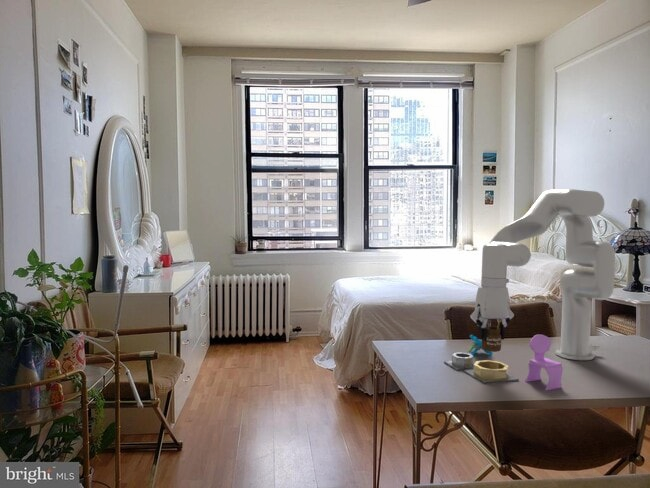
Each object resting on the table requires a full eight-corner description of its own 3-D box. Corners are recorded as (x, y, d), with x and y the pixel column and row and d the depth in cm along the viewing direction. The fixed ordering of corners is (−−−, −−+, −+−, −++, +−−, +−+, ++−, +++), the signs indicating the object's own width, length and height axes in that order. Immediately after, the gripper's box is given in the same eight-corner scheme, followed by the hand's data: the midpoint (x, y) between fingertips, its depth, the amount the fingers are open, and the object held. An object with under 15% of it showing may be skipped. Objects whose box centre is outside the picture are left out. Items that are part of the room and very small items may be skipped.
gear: (497, 354, 184) (477, 334, 184) (486, 366, 183) (466, 346, 184) (486, 350, 195) (468, 331, 195) (476, 361, 195) (457, 342, 195)
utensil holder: (478, 347, 167) (479, 310, 167) (496, 346, 168) (498, 310, 167) (486, 352, 162) (487, 314, 161) (505, 351, 162) (506, 314, 161)
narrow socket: (467, 360, 182) (467, 350, 182) (481, 368, 173) (481, 358, 173) (444, 362, 179) (444, 352, 179) (457, 370, 171) (457, 360, 170)
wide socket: (495, 368, 173) (496, 358, 173) (518, 380, 161) (519, 369, 161) (464, 371, 170) (464, 361, 169) (485, 384, 158) (485, 372, 158)
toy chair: (544, 391, 152) (546, 341, 151) (522, 382, 160) (524, 334, 159) (565, 387, 156) (567, 338, 155) (542, 378, 164) (544, 332, 163)
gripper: (509, 280, 169) (507, 334, 171) (463, 281, 165) (461, 337, 166) (524, 283, 162) (522, 340, 163) (476, 285, 157) (474, 343, 159)
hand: (491, 338), depth 165 cm, fingers closed on utensil holder, 5 cm apart
